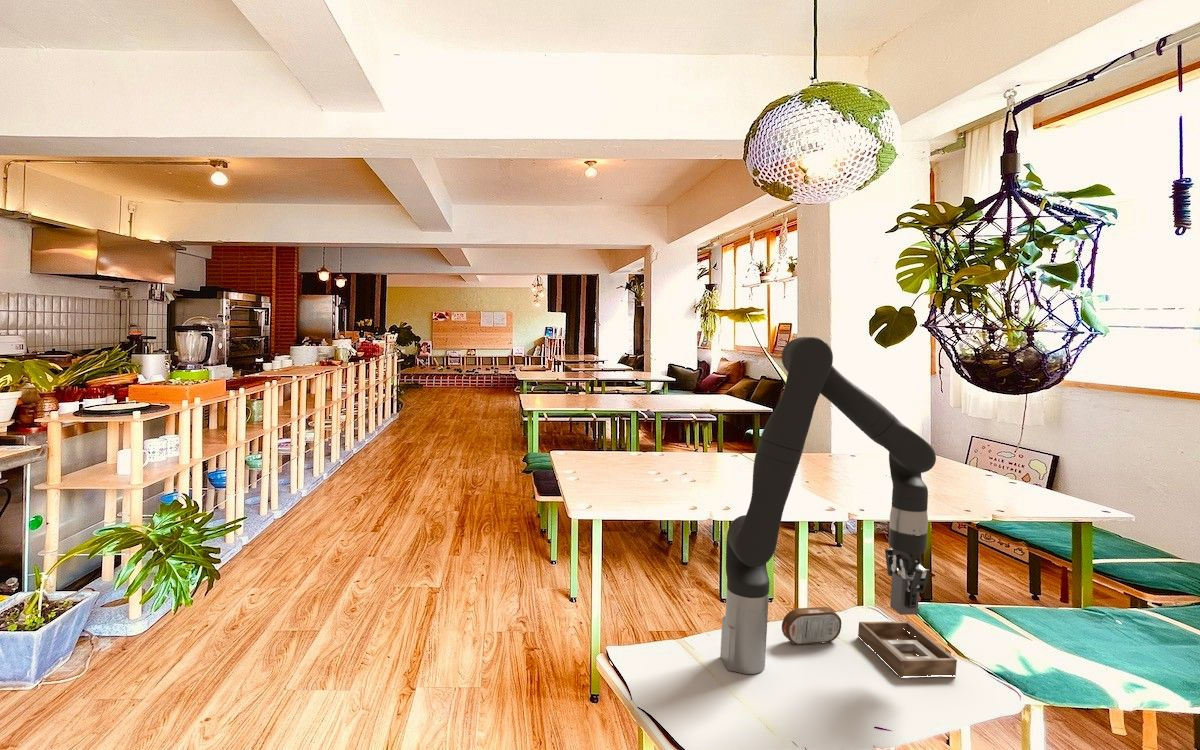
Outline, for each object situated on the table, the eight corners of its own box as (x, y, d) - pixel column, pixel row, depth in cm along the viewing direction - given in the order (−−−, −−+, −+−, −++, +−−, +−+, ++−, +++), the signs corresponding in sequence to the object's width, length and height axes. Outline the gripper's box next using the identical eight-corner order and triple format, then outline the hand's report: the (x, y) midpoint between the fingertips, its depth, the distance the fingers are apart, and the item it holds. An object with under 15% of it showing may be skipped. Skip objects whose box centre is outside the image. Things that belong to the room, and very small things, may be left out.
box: (900, 678, 134) (901, 660, 133) (857, 637, 152) (859, 621, 151) (955, 677, 135) (956, 660, 135) (907, 636, 153) (908, 621, 152)
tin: (835, 637, 151) (837, 604, 151) (842, 643, 148) (844, 610, 148) (779, 641, 148) (781, 608, 148) (786, 648, 145) (788, 614, 145)
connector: (900, 614, 133) (902, 574, 133) (890, 606, 137) (892, 567, 137) (917, 614, 134) (919, 574, 133) (907, 606, 138) (909, 567, 137)
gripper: (874, 517, 141) (871, 589, 142) (910, 538, 127) (906, 618, 128) (906, 517, 142) (902, 589, 143) (944, 538, 127) (940, 617, 129)
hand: (904, 602), depth 135 cm, fingers closed on connector, 4 cm apart
